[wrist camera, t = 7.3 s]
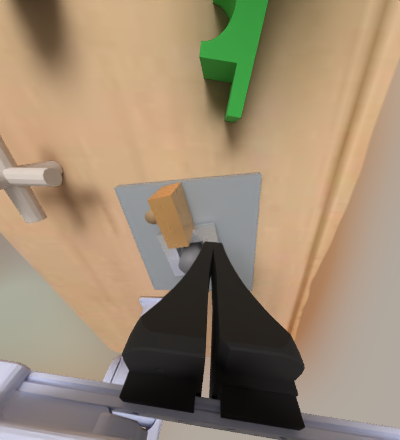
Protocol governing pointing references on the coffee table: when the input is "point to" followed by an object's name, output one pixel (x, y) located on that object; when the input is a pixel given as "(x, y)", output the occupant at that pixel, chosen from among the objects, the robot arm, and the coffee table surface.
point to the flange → (177, 224)
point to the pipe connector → (27, 182)
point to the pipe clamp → (234, 50)
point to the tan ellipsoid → (150, 217)
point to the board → (201, 213)
